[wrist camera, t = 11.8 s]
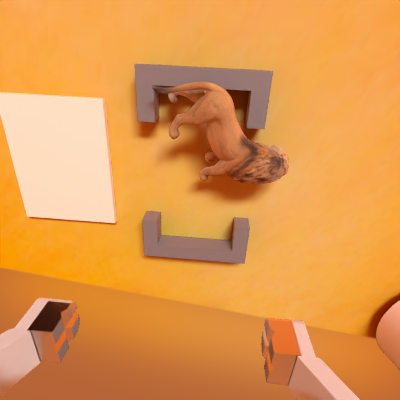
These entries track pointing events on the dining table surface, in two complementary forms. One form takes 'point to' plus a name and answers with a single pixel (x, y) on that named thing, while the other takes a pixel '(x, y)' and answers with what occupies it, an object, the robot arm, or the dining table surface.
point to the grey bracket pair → (149, 112)
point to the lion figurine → (226, 136)
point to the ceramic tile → (61, 155)
